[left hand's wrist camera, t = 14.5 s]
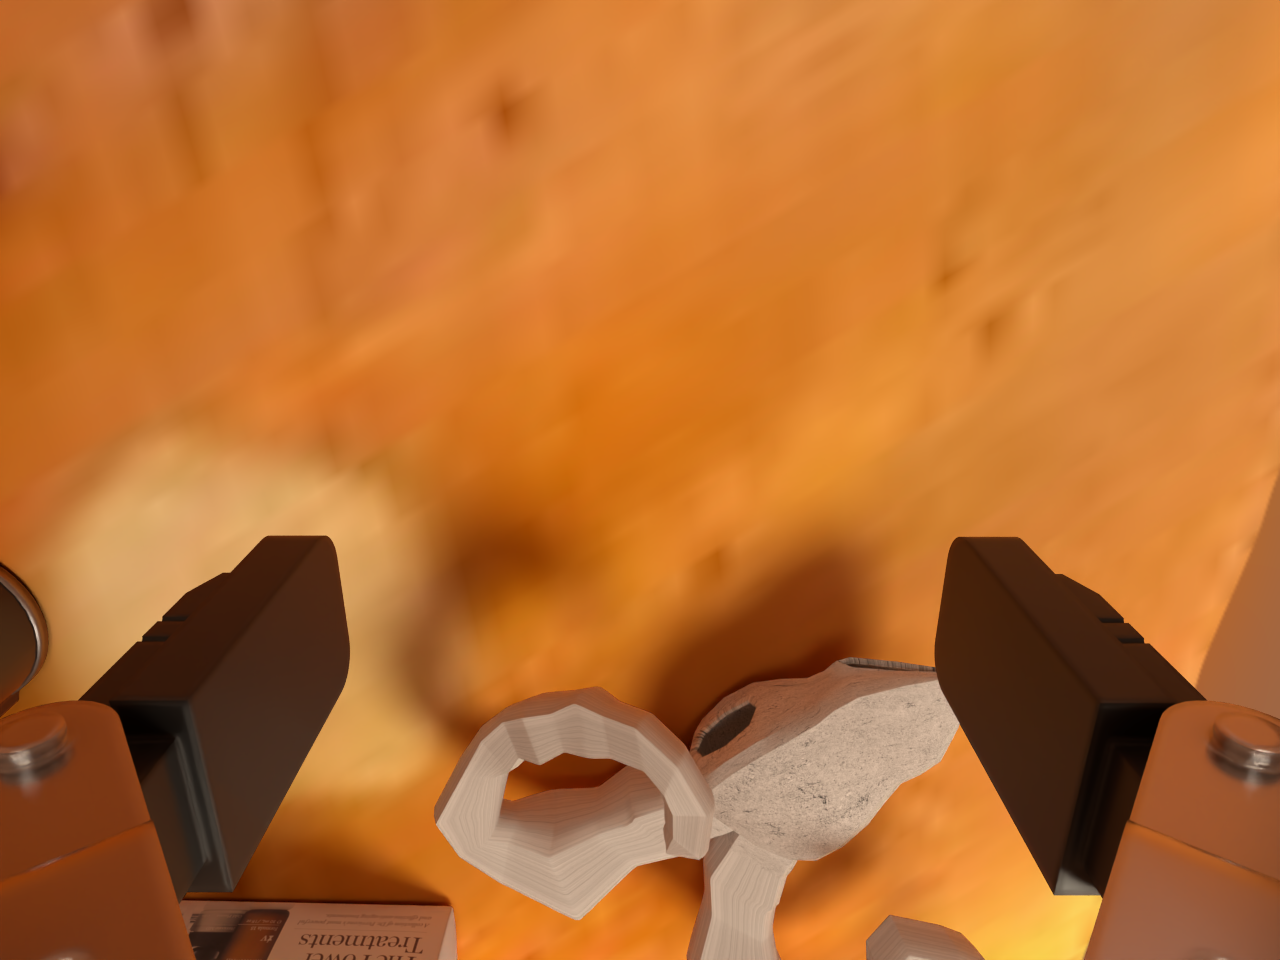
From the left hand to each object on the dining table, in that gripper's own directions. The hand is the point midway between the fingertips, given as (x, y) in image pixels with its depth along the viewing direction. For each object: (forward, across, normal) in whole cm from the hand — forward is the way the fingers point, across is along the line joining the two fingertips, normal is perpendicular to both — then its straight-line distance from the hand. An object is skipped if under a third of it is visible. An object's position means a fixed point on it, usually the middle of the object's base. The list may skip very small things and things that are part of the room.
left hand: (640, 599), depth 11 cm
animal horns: (+30, -7, +27) cm, 42 cm away
